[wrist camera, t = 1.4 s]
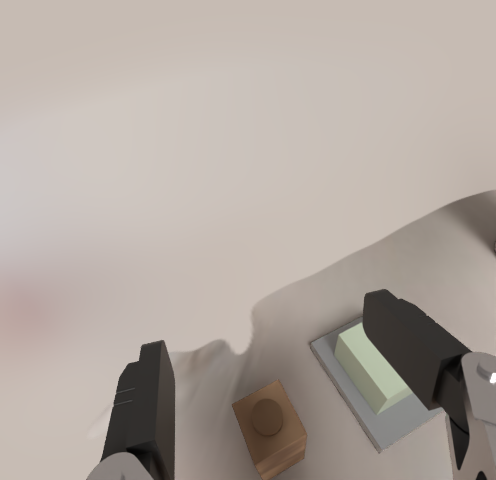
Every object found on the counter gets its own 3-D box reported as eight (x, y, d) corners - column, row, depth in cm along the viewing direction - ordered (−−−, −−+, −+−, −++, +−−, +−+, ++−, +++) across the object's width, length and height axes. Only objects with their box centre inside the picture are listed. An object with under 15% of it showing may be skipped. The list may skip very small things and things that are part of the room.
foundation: (374, 314, 39) (385, 285, 34) (455, 403, 31) (482, 380, 26) (310, 348, 37) (313, 321, 32) (379, 453, 29) (395, 437, 24)
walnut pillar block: (281, 413, 32) (278, 375, 24) (303, 458, 29) (307, 431, 21) (245, 434, 31) (230, 401, 23) (264, 482, 28) (253, 463, 20)
